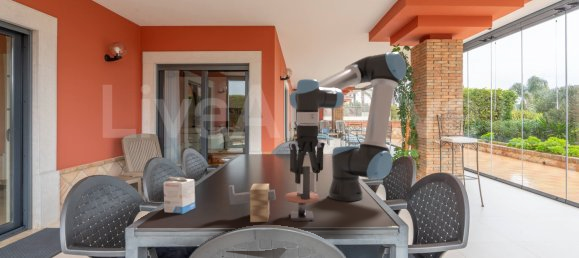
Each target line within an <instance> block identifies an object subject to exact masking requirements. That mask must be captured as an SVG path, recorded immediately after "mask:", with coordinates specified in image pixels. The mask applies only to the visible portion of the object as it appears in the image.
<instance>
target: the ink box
mask: <svg viewBox="0 0 579 258" xmlns="http://www.w3.org/2000/svg"><path fill="white" fill-rule="evenodd" d="M168 179H169V180H167V181H164V182H163V204H164V206H163V207H164V213H170V214H171V213H172V214H182V215H183V214H185V213H187V212H191V211H192V210H194V209H196V193H195V192H196V191H195V189H196V188H195V187H196V186H195V179H193V178H186V177H184V176H183V177H182V176H168Z"/></svg>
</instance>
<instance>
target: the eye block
mask: <svg viewBox="0 0 579 258" xmlns="http://www.w3.org/2000/svg"><path fill="white" fill-rule="evenodd" d="M269 190H270V183H253V184H252V185H251V186H250V189H249V192H250V203H249V204H250V205H249V209H250V213H249V216H250V218H249V219H250V223H268V222H269V218H270V217H269V216H270V201H268V191H269Z"/></svg>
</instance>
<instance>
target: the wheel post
mask: <svg viewBox="0 0 579 258" xmlns="http://www.w3.org/2000/svg"><path fill="white" fill-rule="evenodd" d="M314 216H315V215H314V214H313V211H312V210H307V203H297V210H296V211H295V210H291V211H290V221H291V222H304V221H305V222H308V221H309V222H310V220H312V221H313V220H314V221H315V217H314ZM312 221H311V222H312ZM314 221H313V222H314Z"/></svg>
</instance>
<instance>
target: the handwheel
mask: <svg viewBox="0 0 579 258" xmlns="http://www.w3.org/2000/svg"><path fill="white" fill-rule="evenodd" d="M310 172H311V166H309V165H303V167H302V171H301V174H303V194H300V193H298V192H297V191H292V192H288V193H286V194H285V195H284V197H285V201H287V202H290V203H293V204H295V203H296V204H298V203H306V204H311V203H315V202H318V201H319V199H320V197H319V194H318V193H316V192H313V191H310Z"/></svg>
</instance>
